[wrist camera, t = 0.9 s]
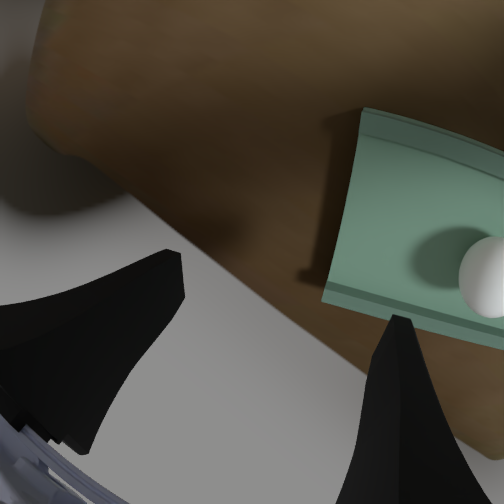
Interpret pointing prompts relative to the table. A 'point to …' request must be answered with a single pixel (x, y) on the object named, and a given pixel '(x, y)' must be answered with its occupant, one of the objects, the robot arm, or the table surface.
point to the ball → (484, 277)
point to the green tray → (416, 225)
